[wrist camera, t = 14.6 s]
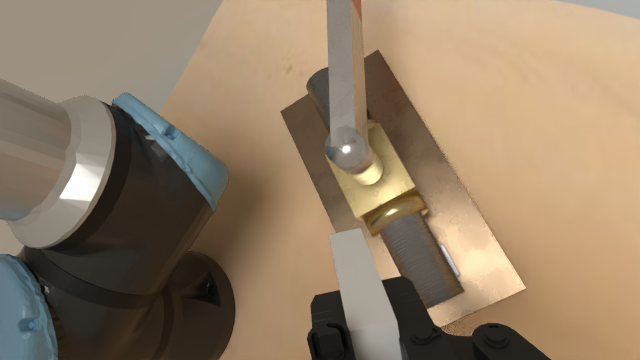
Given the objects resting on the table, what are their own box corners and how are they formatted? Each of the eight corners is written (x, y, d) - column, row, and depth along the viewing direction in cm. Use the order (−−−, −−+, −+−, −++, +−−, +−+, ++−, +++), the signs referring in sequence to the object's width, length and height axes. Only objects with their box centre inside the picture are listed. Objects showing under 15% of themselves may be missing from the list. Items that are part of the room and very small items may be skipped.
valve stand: (524, 288, 38) (536, 290, 30) (393, 347, 41) (373, 363, 33) (380, 55, 49) (362, 13, 41) (285, 115, 52) (252, 87, 44)
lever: (384, 183, 36) (363, 161, 29) (351, 186, 37) (325, 166, 30) (370, -44, 42) (350, -104, 35) (342, -36, 43) (318, -93, 36)
